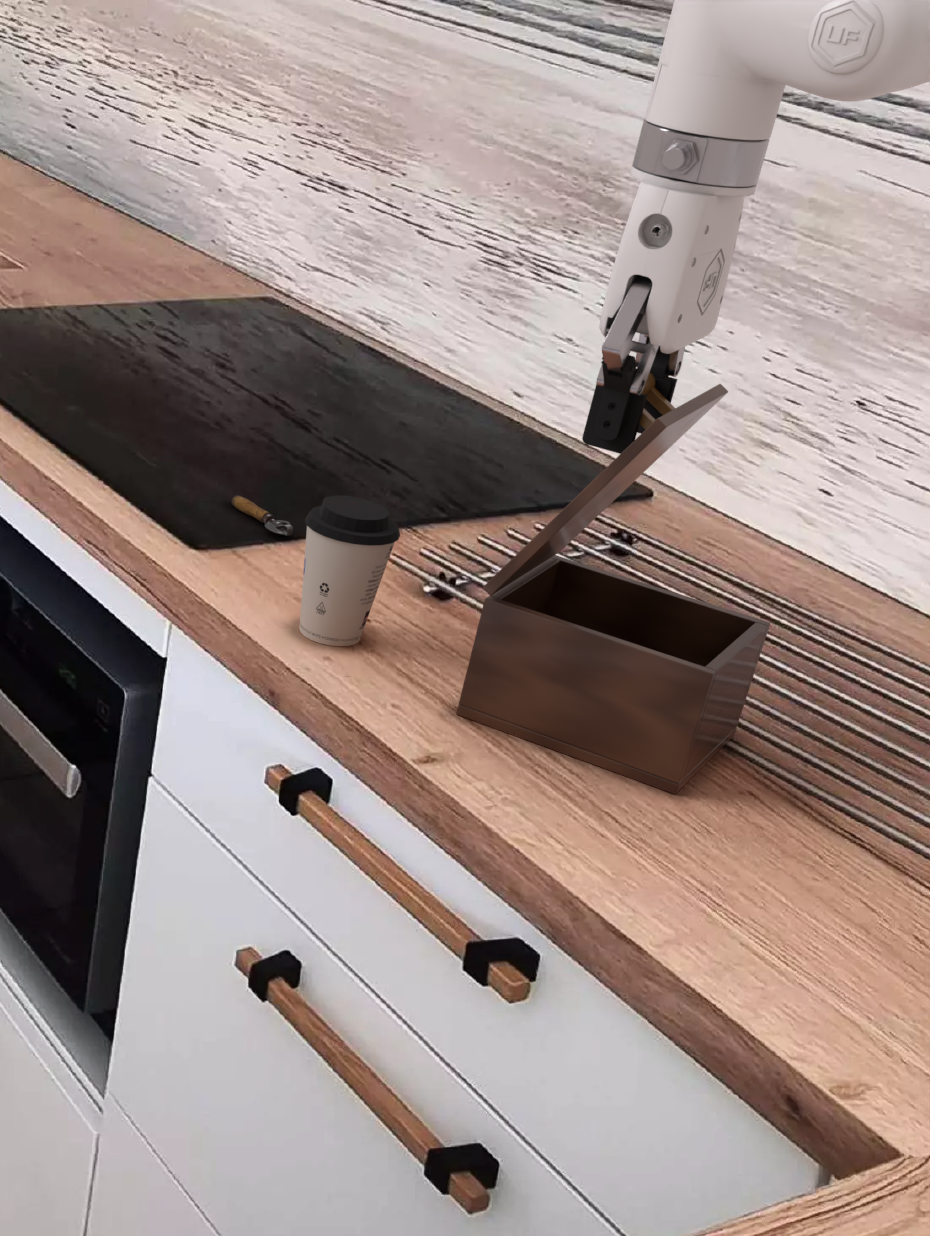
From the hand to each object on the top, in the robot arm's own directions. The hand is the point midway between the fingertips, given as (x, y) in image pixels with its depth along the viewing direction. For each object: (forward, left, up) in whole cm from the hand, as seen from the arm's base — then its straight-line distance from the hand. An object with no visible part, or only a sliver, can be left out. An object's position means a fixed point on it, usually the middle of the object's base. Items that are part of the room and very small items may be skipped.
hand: (622, 436), depth 132 cm
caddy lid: (0, 0, -4) cm, 4 cm away
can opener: (+23, -28, -20) cm, 42 cm away
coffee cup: (+16, -7, -20) cm, 27 cm away
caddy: (-3, +1, -20) cm, 20 cm away
